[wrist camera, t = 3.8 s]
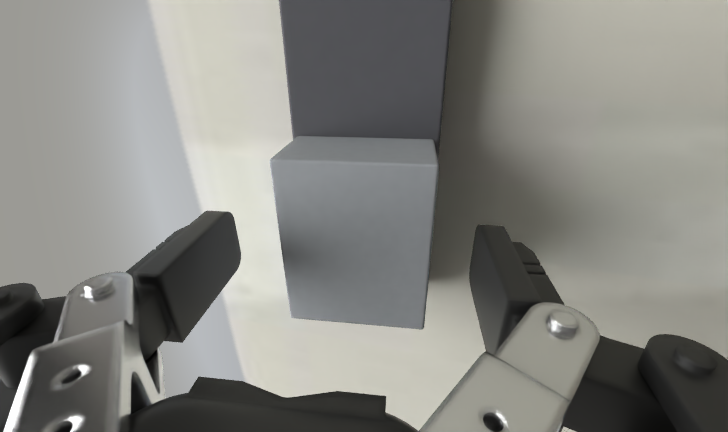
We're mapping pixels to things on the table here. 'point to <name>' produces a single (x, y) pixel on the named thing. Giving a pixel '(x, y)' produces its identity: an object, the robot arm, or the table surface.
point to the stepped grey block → (361, 157)
